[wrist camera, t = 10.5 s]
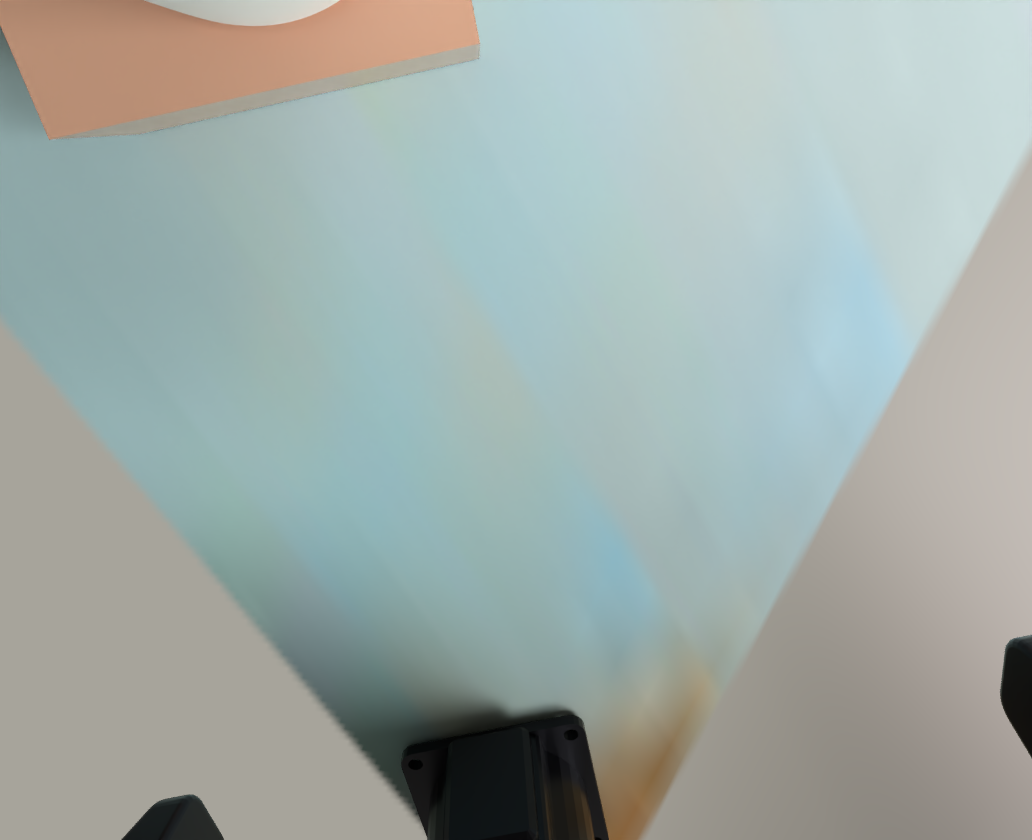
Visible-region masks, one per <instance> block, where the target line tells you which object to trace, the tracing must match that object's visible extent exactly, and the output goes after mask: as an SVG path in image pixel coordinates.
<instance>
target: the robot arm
mask: <svg viewBox="0 0 1032 840" xmlns="http://www.w3.org/2000/svg"><path fill="white" fill-rule="evenodd" d="M1000 696H1001V702H1002V706H1003V709H1004V711H1005V713H1006V715H1007V717H1008V719H1009V721H1010V722H1011V724H1012V726H1013V728H1014V729H1015V731H1016V733H1017V734H1018V736H1019V738H1020V739H1021V741H1022V743H1023V744H1024V746H1025V748H1026V749H1027V751H1028V753H1029V754H1030V756H1031V758H1032V635H1029V636H1023V637H1019V638H1014V639H1012V640H1010V641H1009V643H1008V644H1007V645H1006V648H1005V655H1004V665H1003V672H1002V681H1001V689H1000ZM567 730H573V731H567ZM413 759H418V760H413ZM401 766H402V770H403V773H404V775H405V778H406V781H407V784H408V786H409V789H410V792H411V794H412V797H413V800H414V803H415V805H416V808H417V811H418V814H419V816H420V819H421V822H422V825H423V827H424V830H425V833H426V836H427V840H609V838H608V832H607V827H606V823H605V818H604V814H603V809H602V804H601V800H600V795H599V791H598V786H597V782H596V777H595V772H594V768H593V763H592V759H591V754H590V750H589V745H588V740H587V736H586V731H585V727H584V723H583V721H582V719H580V718H579V717H577V716H574V715H567V716H562V717H556V718H551V719H546V720H541V721H536V722H530V723H525V724H520V725H515V726H509V727H504V728H499V729H494V730H489V731H483V732H478V733H473V734H468V735H462V736H457V737H452V738H447V739H441V740H436V741H431V742H426V743H421V744H415V745H411V746H409V747H407V748H406V749H405V750H404V751H403V753H402V761H401ZM122 840H224V838H223V836H222V834H221V833H220V831H219V829H218V828H217V826H216V824H215V823H214V821H213V819H212V818H211V816H210V814H209V813H208V811H207V809H206V808H205V806H204V804H203V803H202V801H201V800H200V799H199V798H198V797H197V796H195V795H184V796H178V797H173V798H168V799H164V800H161V801H159V802H157V803H156V804H154V805H153V806H152V807H151V808H150V809H149V810H148V811H147V812H146V813H145V814H144V815H143V817H142V818H141V819H140V820H139V821H138V822H137V823H136V824H135V825H134V827H132V829H131V830H130V831H129V832H128V833H127V834H126V835H125V836H124V837H123V839H122Z"/></svg>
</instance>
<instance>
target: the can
mask: <svg viewBox="0 0 1032 840" xmlns="http://www.w3.org/2000/svg"><path fill="white" fill-rule="evenodd" d="M144 1H147V2H150V3H153V4H156V5H159V6H162V7H165V8H168V9H171V10H175V11H178V12H181V13H184V14H187V15H191V16H194V17H198V18H201V19H205V20H209V21H213V22H218V23H224V24H231V25H241V26H267V25H276V24H283V23H288V22H292V21H296V20H299V19H302V18H305V17H308V16H311V15H313V14H316V13H318V12H320V11H322V10H324V9H326V8H328V7H330V6H332V5H333V4H335V3H337V2H338V1H340V0H144Z"/></svg>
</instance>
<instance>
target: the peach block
mask: <svg viewBox="0 0 1032 840" xmlns="http://www.w3.org/2000/svg"><path fill="white" fill-rule="evenodd" d="M0 26H1V28H2V31H3V33H4V35H5V38H6V40H7V42H8V45H9V47H10V49H11V52H12V54H13V56H14V59H15V61H16V63H17V66H18V68H19V70H20V73H21V75H22V77H23V80H24V82H25V84H26V87H27V89H28V91H29V94H30V96H31V98H32V101H33V103H34V105H35V108H36V110H37V112H38V115H39V117H40V119H41V122H42V124H43V126H44V129H45V131H46V133H47V136H48V138H49V140H52V139H69V138H86V137H103V136H120V135H137V134H143V133H148V132H152V131H157V130H161V129H166V128H170V127H175V126H179V125H184V124H188V123H193V122H197V121H202V120H206V119H211V118H215V117H220V116H224V115H229V114H233V113H238V112H242V111H247V110H251V109H256V108H260V107H265V106H269V105H274V104H278V103H283V102H287V101H292V100H296V99H301V98H305V97H310V96H314V95H319V94H323V93H328V92H332V91H337V90H341V89H346V88H350V87H355V86H359V85H364V84H368V83H373V82H377V81H382V80H386V79H391V78H395V77H400V76H404V75H409V74H413V73H418V72H422V71H427V70H431V69H436V68H440V67H445V66H449V65H454V64H458V63H463V62H467V61H472V60H476V59H479V56H480V41H479V36H478V31H477V26H476V21H475V16H474V11H473V6H472V1H471V0H340V1H338V2H337V3H335V4H333V5H332V6H330V7H328V8H326V9H324V10H322V11H320V12H318V13H316V14H313V15H311V16H308V17H305V18H302V19H299V20H296V21H292V22H288V23H283V24H276V25H267V26H241V25H231V24H224V23H218V22H213V21H209V20H205V19H201V18H198V17H194V16H191V15H187V14H184V13H181V12H178V11H175V10H171V9H168V8H165V7H162V6H159V5H156V4H153V3H150V2H147V1H144V0H0Z"/></svg>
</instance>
